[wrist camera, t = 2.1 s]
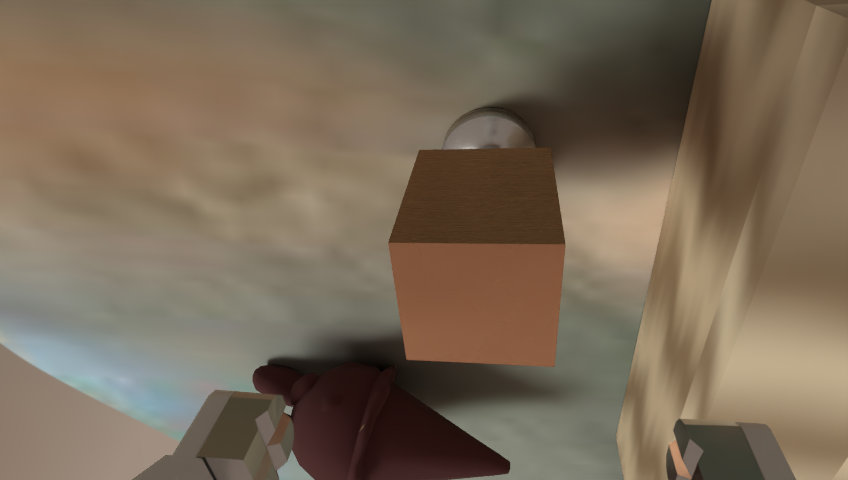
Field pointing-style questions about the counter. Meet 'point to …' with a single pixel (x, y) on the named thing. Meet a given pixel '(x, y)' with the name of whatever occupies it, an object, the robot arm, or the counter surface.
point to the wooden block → (480, 247)
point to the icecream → (372, 428)
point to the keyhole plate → (753, 246)
